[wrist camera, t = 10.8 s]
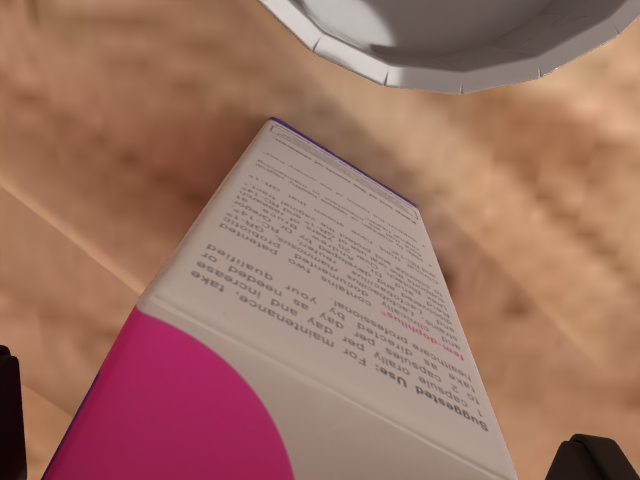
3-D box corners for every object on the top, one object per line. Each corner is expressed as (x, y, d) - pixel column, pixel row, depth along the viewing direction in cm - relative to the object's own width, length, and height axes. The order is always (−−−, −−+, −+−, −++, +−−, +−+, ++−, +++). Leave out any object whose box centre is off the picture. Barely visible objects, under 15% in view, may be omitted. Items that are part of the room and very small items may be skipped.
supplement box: (265, 108, 16) (144, 282, 6) (420, 204, 17) (554, 494, 7) (184, 252, 18) (-15, 574, 8) (328, 329, 19) (322, 702, 9)
